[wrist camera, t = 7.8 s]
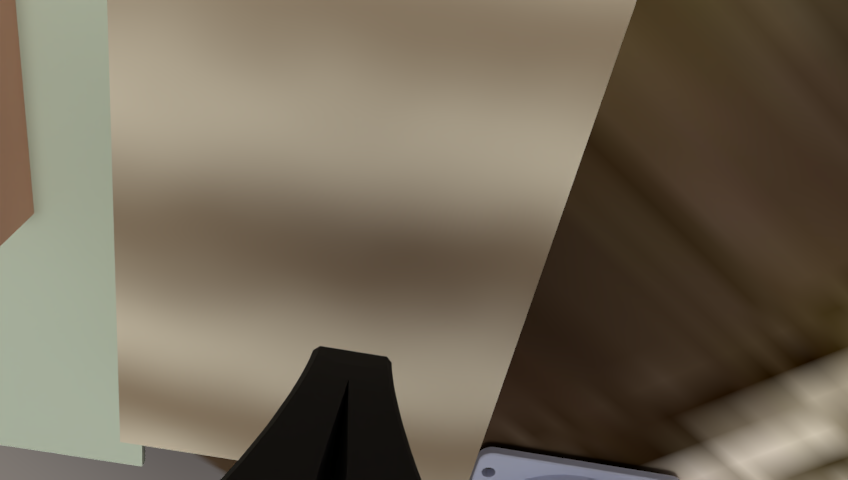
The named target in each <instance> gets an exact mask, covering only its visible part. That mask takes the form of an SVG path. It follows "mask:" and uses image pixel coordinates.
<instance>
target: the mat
mask: <svg viewBox="0 0 848 480" xmlns="http://www.w3.org/2000/svg"><path fill="white" fill-rule="evenodd" d="M15 2H16V13H17V24H18V36H19V47H20V58H21V70H22V81H23V92H24V104H25V115H26V126H27V137H28V149H29V160H30V171H31V183H32V194H33V205H34V214H33V215H32V216H31V217H30V218H29V219H28V220H27V221H26V222H25V223H24V224H23V225H22V226H21V227H20V228H19V229H18V230H16V231H15V232H14V233H13V234H12V235H11V236H10V237H9V238H8V239H7V240H6V241H5V242H4V243H3V244H2V245H1V246H0V445H4V446H11V447H18V448H24V449H30V450H37V451H44V452H50V453H57V454H64V455H70V456H76V457H84V458H90V459H96V460H103V461H109V462H116V463H122V464H129V465H135V466H143V464H144V461H145V446H143V445H136V444H130V443H123V442H120V419H119V386H118V352H117V318H116V284H115V251H114V217H113V183H112V149H111V116H110V82H109V48H108V15H107V0H15Z"/></svg>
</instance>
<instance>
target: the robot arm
mask: <svg viewBox="0 0 848 480" xmlns="http://www.w3.org/2000/svg"><path fill="white" fill-rule="evenodd" d="M485 468H490V469H485ZM221 480H421V477H420V474H419V472H418V469H417V466H416V464H415V461H414V458H413V455H412V452H411V449H410V446H409V442H408V439H407V436H406V433H405V429H404V426H403V423H402V419H401V415H400V411H399V407H398V403H397V398H396V393H395V388H394V382H393V374H392V362H391V361H390V360H389V359H388V357H386V356H380V355H373V354H367V353H361V352H355V351H348V350H342V349H336V348H330V347H324V346H319V347H317V348H316V349H314V350H313V352H312V354H311V356H310V359H309V361H308V363H307V365H306V367H305V369H304V370H303V372H302V374H301V376H300V377H299V379H298V381H297V382H296V384H295V386H294V387H293V389H292V390H291V392H290V393H289V395H288V396H287V398H286V399H285V401H284V402H283V403H282V405H281V406H280V408H279V409H278V410H277V412H276V413H275V415H274V416H273V417H272V419H271V420H270V422H269V423H268V424H267V426H266V427H265V428H264V430H263V431H262V432H261V433H260V434H259V436H258V437H257V438H256V439H255V441H254V442H253V443H252V444H251V445H250V447H249V448H248V449H247V450H246V451H245V453H244V454H243V455H242V456H241V457H240V459H239V460H238V461H237V462H236V463H235V464H234V466H233V467H232V468H231V469H230V470H229V471H228V472H227V473H226V474H225V476H224V477H223V478H222V479H221ZM469 480H679V479H678V478H677V477H675V476H671V475H665V474H659V473H653V472H646V471H640V470H634V469H628V468H622V467H615V466H609V465H603V464H597V463H591V462H584V461H578V460H572V459H566V458H560V457H553V456H547V455H541V454H535V453H529V452H522V451H516V450H510V449H504V448H498V447H487V448H484V449H482V450H481V451H480V452H479V454H478V456H477V459H476V462H475V465H474V468H473V471H472V473H471V476H470V479H469Z"/></svg>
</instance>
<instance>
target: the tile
mask: <svg viewBox="0 0 848 480" xmlns="http://www.w3.org/2000/svg"><path fill="white" fill-rule="evenodd" d="M33 214H34V205H33V194H32V183H31V171H30V160H29V149H28V137H27V126H26V115H25V104H24V92H23V81H22V70H21V58H20V47H19V36H18V24H17V13H16V2H15V0H0V246H1V245H2V244H3V243H4V242H5V241H6V240H7V239H8V238H9V237H10V236H11V235H12V234H13V233H14V232H15V231H16V230H18V229H19V228H20V227H21V226H22V225H23V224H24V223H25V222H26V221H27V220H28V219H29V218H30V217H31V216H32V215H33Z"/></svg>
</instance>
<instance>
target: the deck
mask: <svg viewBox="0 0 848 480" xmlns="http://www.w3.org/2000/svg"><path fill="white" fill-rule="evenodd" d="M636 1H637V0H107V15H108V48H109V82H110V116H111V149H112V183H113V217H114V251H115V284H116V318H117V352H118V386H119V419H120V442H123V443H130V444H136V445H143V446H149V447H155V448H162V449H169V450H175V451H182V452H188V453H194V454H201V455H207V456H214V457H220V458H226V459H233V460H239V459H240V457H241V456H242V455H243V454H244V453H245V451H246V450H247V449H248V448H249V447H250V445H251V444H252V443H253V442H254V441H255V439H256V438H257V437H258V436H259V434H260V433H261V432H262V431H263V430H264V428H265V427H266V426H267V424H268V423H269V422H270V420H271V419H272V417H273V416H274V415H275V413H276V412H277V410H278V409H279V408H280V406H281V405H282V403H283V402H284V401H285V399H286V398H287V396H288V395H289V393H290V392H291V390H292V389H293V387H294V386H295V384H296V382H297V381H298V379H299V377H300V376H301V374H302V372H303V370H304V369H305V367H306V365H307V363H308V361H309V359H310V356H311V354H312V352H313V350H314V349H316V348H317V347H319V346H324V347H330V348H336V349H342V350H348V351H355V352H361V353H367V354H373V355H380V356H386V357H388V359H389V360H390V361H391V362H392V374H393V382H394V388H395V393H396V398H397V403H398V407H399V411H400V415H401V419H402V423H403V426H404V429H405V433H406V436H407V439H408V442H409V446H410V449H411V452H412V455H413V458H414V461H415V464H416V466H417V469H418V472H419V474H420V477H421V480H469V479H470V476H471V473H472V471H473V468H474V465H475V462H476V459H477V456H478V453H479V451H480V448H481V445H482V442H483V439H484V436H485V433H486V430H487V428H488V425H489V422H490V419H491V416H492V413H493V410H494V408H495V405H496V402H497V399H498V396H499V393H500V390H501V388H502V385H503V382H504V379H505V376H506V373H507V370H508V367H509V365H510V362H511V359H512V356H513V353H514V350H515V347H516V345H517V342H518V339H519V336H520V333H521V330H522V327H523V325H524V322H525V319H526V316H527V313H528V310H529V307H530V304H531V302H532V299H533V296H534V293H535V290H536V287H537V284H538V282H539V279H540V276H541V273H542V270H543V267H544V264H545V262H546V259H547V256H548V253H549V250H550V247H551V244H552V241H553V239H554V236H555V233H556V230H557V227H558V224H559V221H560V219H561V216H562V213H563V210H564V207H565V204H566V201H567V199H568V196H569V193H570V190H571V187H572V184H573V181H574V178H575V176H576V173H577V170H578V167H579V164H580V161H581V158H582V156H583V153H584V150H585V147H586V144H587V141H588V138H589V135H590V133H591V130H592V127H593V124H594V121H595V118H596V115H597V113H598V110H599V107H600V104H601V101H602V98H603V95H604V93H605V90H606V87H607V84H608V81H609V78H610V75H611V72H612V70H613V67H614V64H615V61H616V58H617V55H618V52H619V50H620V47H621V44H622V41H623V38H624V35H625V32H626V30H627V27H628V24H629V21H630V18H631V15H632V12H633V9H634V7H635V4H636Z"/></svg>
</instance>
